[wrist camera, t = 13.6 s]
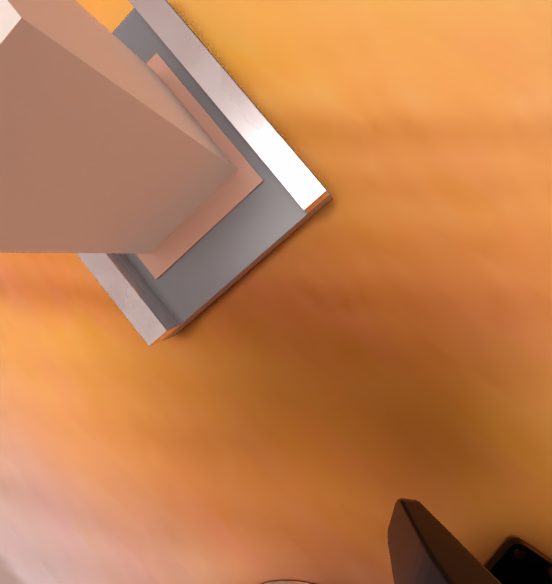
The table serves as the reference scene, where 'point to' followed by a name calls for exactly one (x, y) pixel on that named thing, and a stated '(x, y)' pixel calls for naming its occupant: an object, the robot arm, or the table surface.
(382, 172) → the table surface
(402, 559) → the robot arm
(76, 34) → the cream block
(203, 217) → the display base
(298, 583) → the coffee can
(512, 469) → the table surface
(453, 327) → the table surface
